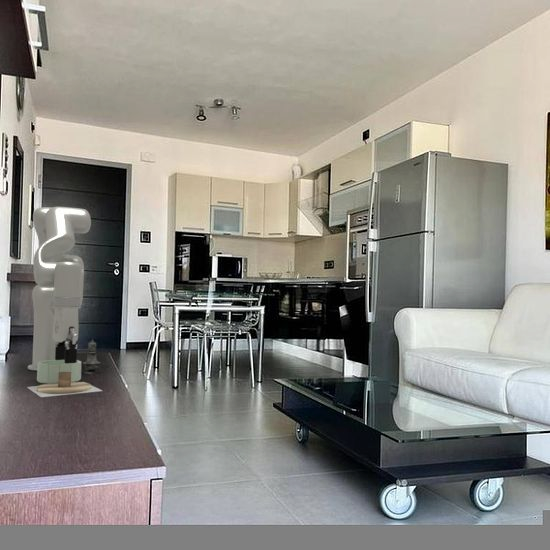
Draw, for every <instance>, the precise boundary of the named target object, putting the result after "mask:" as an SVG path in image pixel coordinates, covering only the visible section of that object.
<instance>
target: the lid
mask: <svg viewBox="0 0 550 550" xmlns="http://www.w3.org/2000/svg"><path fill="white" fill-rule="evenodd" d="M84 382H85V381H75V382H71V372H59V374H58V382H56V383H42V384H40V385H36V386H37V392H40V393H47V394H68V393H77V392H83V391H87V390H90V389H91V385H92V384H91V383H89V382H86V383H84Z"/></svg>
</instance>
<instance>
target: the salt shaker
mask: <svg viewBox="0 0 550 550" xmlns="http://www.w3.org/2000/svg"><path fill="white" fill-rule="evenodd" d="M86 353H87V358H86V360H85V362H83V363H82V364H83V367H84V369H85V371H83V374H86V375H93V374H94V375H95V374H99V373H100V371H98V370H97V369H99V368H100V364H101V362H100V361H98V359H97V354H98V351H97V343H96V342H95V341H94V339H91V341H89V342H88V343H87V351H86Z"/></svg>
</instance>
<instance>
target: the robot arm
mask: <svg viewBox="0 0 550 550" xmlns="http://www.w3.org/2000/svg"><path fill="white" fill-rule="evenodd" d="M32 222H33V227H34V230H35V232H36V236H37V239H38V247H37V249H36V250H35V253H34V256H33V263H32V264H33V279H34V282H35V283H36V284H37V285H35V286H34V287H33V289H32V293H31V296H32V305H33V334H32V335H33V339H32V340H33V341H32V363H31V364H29V365H27V370H30V371H36V372H37V363H39V362H41V361H47V360H65V363H66V364H67V363H76V362H77V360H78V358H77V357H78V356H77V355H78V339H79V309H82V308H81V307H82V304H83V299H84V298H83V296H84V280H85V264H84V261H83V259H82V257H80V256H79V255H76V254H75V255H74V254H73V255H72V254H65V253H67V252H69V251H71V250H72V249H73V248H74V247H75V244H76V240H75V239H76V238H75V234H87V233H89V231H90V229H91V226H92V219H91V215H90V213H89V211H88V210H87V209H84V208H78V207H69V206H68V207H67V206H53V207H48V206H47V207H46V206H44V207H38V208H36V209H35V210H34V211H33V214H32Z"/></svg>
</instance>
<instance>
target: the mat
mask: <svg viewBox="0 0 550 550" xmlns="http://www.w3.org/2000/svg"><path fill="white" fill-rule="evenodd" d="M83 382H84V383H87V382H85V381H83ZM37 386H38V385H35V386H34V385H33V386H26V388H27V389H29V390H30V391H31V392H33V393H34V394H35V395H37V396H38V397H40V398H48V397H57V396H59V397H60V396H68V395H77V394H79V395H80V394H88V393H89V394H90V393H97V392H103V390H102V389H100V388H98V387H96V386H94V385H92V384H91V389H90V390H87V391H83V392H77V393H68V394H47V393H40V392H37Z"/></svg>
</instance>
